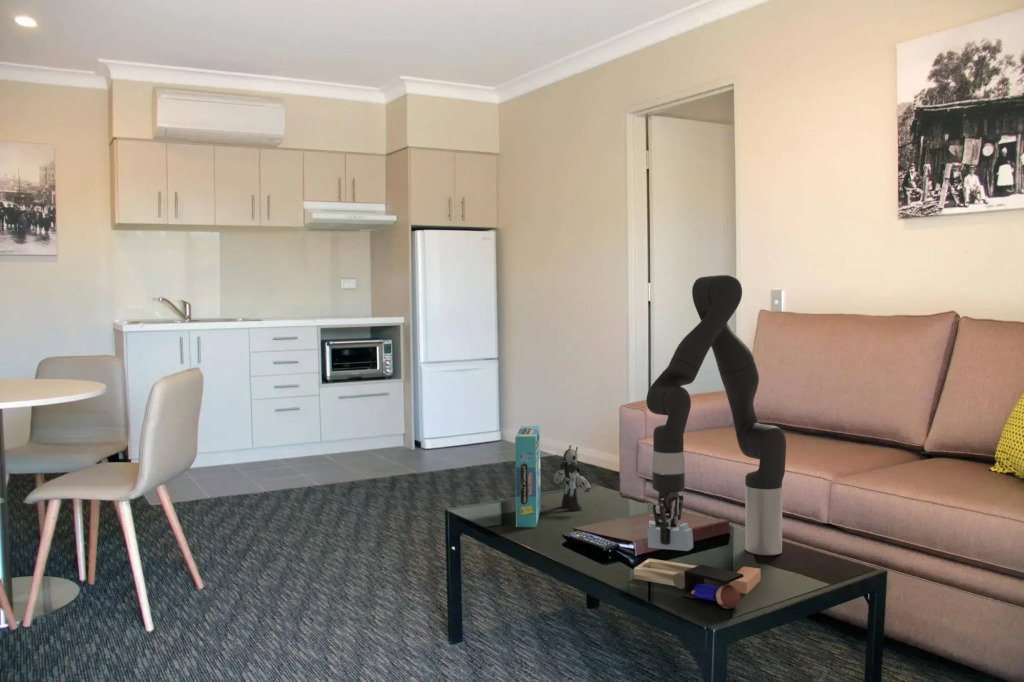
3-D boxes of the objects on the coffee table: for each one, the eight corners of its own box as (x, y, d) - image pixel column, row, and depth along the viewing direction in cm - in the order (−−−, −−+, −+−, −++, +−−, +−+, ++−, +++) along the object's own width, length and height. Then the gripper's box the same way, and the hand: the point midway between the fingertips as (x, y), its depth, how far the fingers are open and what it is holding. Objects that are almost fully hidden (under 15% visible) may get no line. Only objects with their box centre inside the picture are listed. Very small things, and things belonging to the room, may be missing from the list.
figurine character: (672, 602, 187) (728, 614, 176) (669, 568, 188) (725, 577, 176) (692, 595, 192) (748, 606, 180) (689, 562, 192) (744, 570, 180)
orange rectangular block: (743, 578, 199) (743, 566, 199) (760, 581, 197) (760, 568, 197) (729, 592, 190) (729, 579, 190) (746, 595, 188) (746, 582, 188)
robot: (548, 503, 277) (548, 442, 276) (561, 501, 279) (560, 441, 278) (582, 515, 260) (581, 451, 259) (595, 513, 262) (594, 449, 261)
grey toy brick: (653, 544, 203) (652, 519, 203) (693, 547, 198) (691, 522, 198) (648, 547, 200) (646, 522, 200) (688, 551, 195) (686, 525, 195)
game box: (521, 510, 267) (520, 425, 266) (541, 510, 267) (540, 425, 266) (515, 527, 247) (514, 436, 246) (537, 527, 246) (535, 436, 245)
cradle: (649, 568, 207) (649, 558, 207) (704, 577, 200) (704, 567, 199) (634, 578, 200) (634, 568, 199) (690, 588, 192) (690, 577, 192)
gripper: (665, 463, 206) (665, 533, 207) (641, 473, 195) (641, 546, 195) (694, 466, 202) (694, 537, 203) (672, 476, 191) (672, 551, 191)
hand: (668, 541), depth 199 cm, fingers closed on grey toy brick, 3 cm apart
